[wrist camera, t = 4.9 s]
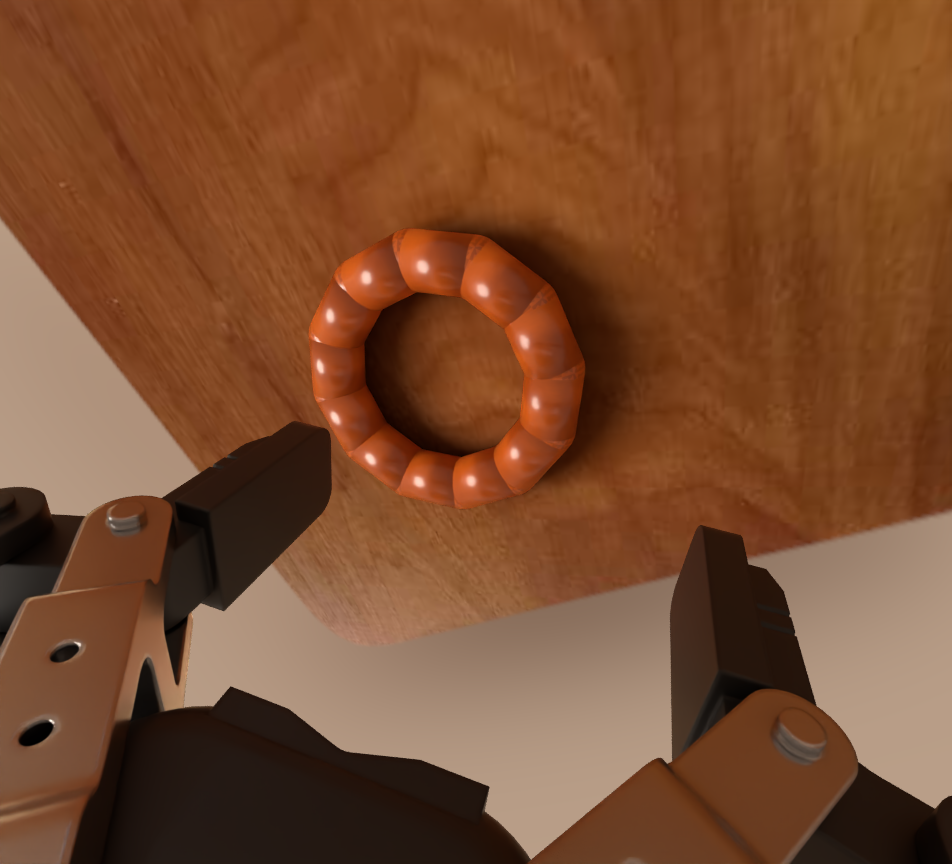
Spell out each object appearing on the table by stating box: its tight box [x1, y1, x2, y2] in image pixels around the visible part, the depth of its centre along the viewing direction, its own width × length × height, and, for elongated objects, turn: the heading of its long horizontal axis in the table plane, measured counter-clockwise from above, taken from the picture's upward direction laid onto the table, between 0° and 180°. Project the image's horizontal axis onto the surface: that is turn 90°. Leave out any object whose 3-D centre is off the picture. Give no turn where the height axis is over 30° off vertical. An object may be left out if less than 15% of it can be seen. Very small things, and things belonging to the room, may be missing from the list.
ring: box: [309, 228, 585, 509], centre depth 18 cm, size 9×9×2 cm
